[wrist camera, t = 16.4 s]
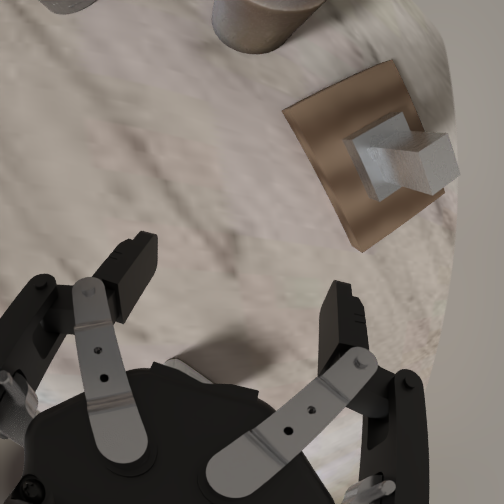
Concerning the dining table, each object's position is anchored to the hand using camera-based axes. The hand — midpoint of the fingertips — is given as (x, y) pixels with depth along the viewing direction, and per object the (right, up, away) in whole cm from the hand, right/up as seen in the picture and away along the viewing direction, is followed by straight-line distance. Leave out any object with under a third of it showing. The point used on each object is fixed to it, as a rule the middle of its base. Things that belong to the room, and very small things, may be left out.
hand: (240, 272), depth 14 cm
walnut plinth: (+16, +14, +24) cm, 32 cm away
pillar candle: (0, +28, +16) cm, 33 cm away
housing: (+16, +13, +21) cm, 30 cm away
